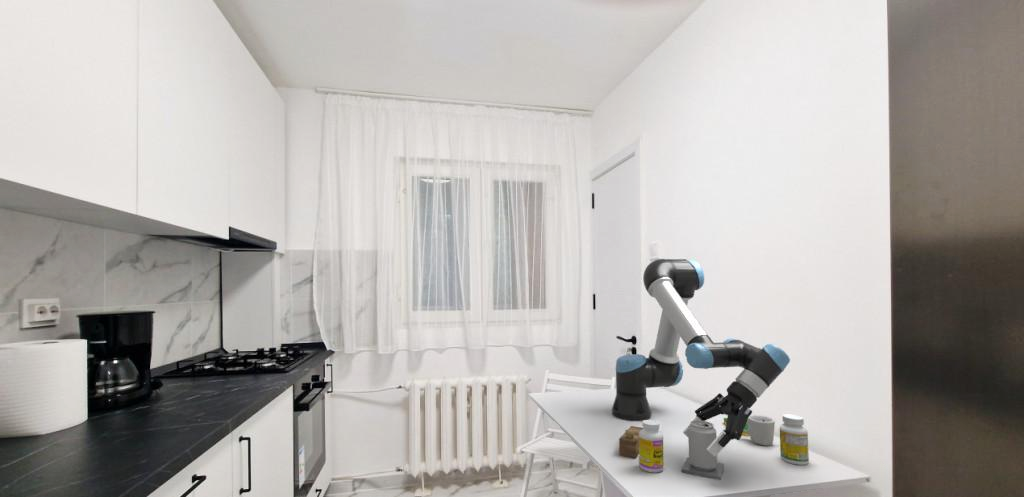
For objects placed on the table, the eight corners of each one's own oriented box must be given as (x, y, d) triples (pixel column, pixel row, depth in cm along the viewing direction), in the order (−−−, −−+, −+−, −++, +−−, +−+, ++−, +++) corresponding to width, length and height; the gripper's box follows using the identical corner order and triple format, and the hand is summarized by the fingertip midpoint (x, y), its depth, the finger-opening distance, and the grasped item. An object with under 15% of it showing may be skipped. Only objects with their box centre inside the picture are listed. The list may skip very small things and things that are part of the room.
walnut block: (631, 441, 147) (631, 419, 148) (646, 444, 145) (646, 422, 145) (619, 455, 135) (619, 431, 135) (635, 458, 132) (635, 434, 133)
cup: (735, 441, 148) (735, 416, 149) (743, 435, 154) (742, 411, 154) (772, 449, 141) (771, 423, 141) (778, 442, 146) (777, 418, 147)
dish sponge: (733, 436, 154) (733, 429, 154) (723, 424, 167) (723, 417, 167) (755, 438, 152) (755, 431, 152) (744, 425, 166) (743, 419, 166)
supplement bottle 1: (654, 475, 121) (653, 427, 122) (634, 467, 126) (633, 421, 127) (668, 469, 125) (667, 423, 126) (649, 461, 130) (648, 417, 131)
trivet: (687, 459, 132) (687, 457, 132) (724, 466, 127) (723, 463, 127) (681, 472, 123) (681, 469, 123) (721, 480, 118) (721, 477, 118)
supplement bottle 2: (807, 467, 127) (805, 421, 128) (778, 461, 131) (776, 416, 132) (810, 460, 132) (808, 416, 133) (783, 454, 137) (781, 411, 138)
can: (720, 473, 121) (719, 428, 122) (691, 470, 122) (690, 426, 123) (714, 462, 128) (712, 420, 129) (686, 460, 130) (685, 418, 131)
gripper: (785, 411, 115) (732, 472, 113) (730, 388, 140) (686, 438, 138) (765, 390, 115) (712, 451, 113) (713, 371, 140) (669, 421, 138)
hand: (697, 444), depth 125 cm, fingers open, 13 cm apart
